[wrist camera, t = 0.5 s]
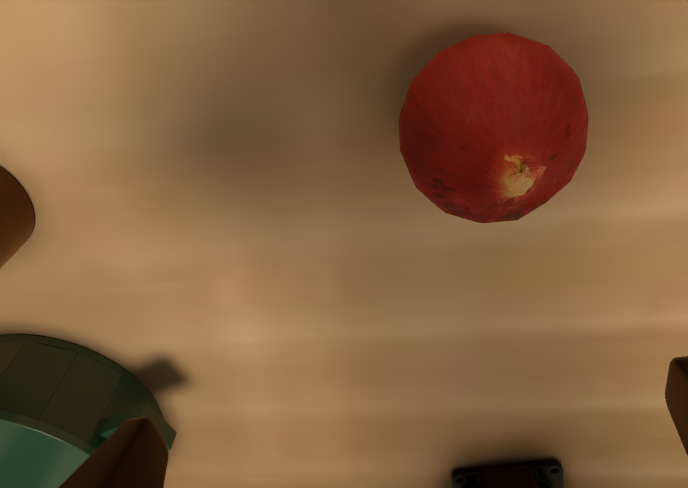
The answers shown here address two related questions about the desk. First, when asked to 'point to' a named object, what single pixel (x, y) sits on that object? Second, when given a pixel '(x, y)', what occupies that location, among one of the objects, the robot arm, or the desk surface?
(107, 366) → the pot
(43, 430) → the lid
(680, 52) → the desk surface
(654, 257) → the desk surface
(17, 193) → the pepper mill
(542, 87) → the onion
